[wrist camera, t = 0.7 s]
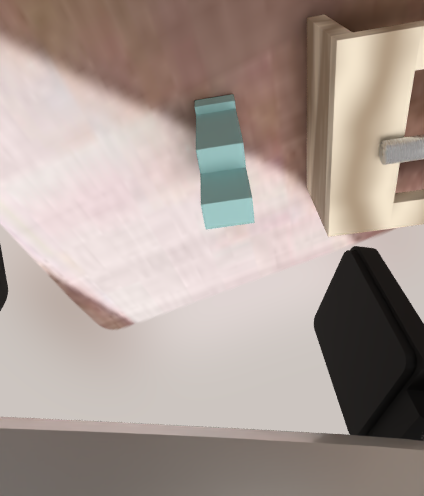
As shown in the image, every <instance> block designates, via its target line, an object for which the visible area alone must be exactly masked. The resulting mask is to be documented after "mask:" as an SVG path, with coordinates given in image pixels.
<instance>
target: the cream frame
mask: <svg viewBox="0 0 424 496" xmlns="http://www.w3.org/2000/svg"><path fill="white" fill-rule="evenodd" d="M421 69H424V20H423V21H418V22H412V23H406V24H400V25H394V26H388V27H382V28H376V29H370V30H364V31H358V32H351V31H349V30H348V29H346V28H345V27H343V26H342V25H340V24H338V23H337V22H335V21H334V20H332V19H331V18H329V17H327V16H326V15H319V16H313V17H307V189H308V191H309V194H310V196H311V198H312V201H313V203H314V205H315V207H316V210H317V212H318V214H319V217H320V219H321V221H322V224H323V226H324V228H325V230H326V233H327V235H328V237H332V236H339V235H346V234H354V233H361V232H369V231H376V230H383V229H391V228H398V227H406V226H413V225H419V224H424V189H423V190H416V191H409V192H402V193H395V190H396V184H397V177H398V171H399V165H400V163H401V162H408V161H415V160H422V159H424V135H417V136H410V137H404V134H405V128H406V122H407V116H408V110H409V104H410V98H411V91H412V85H413V79H414V73H415V70H421Z"/></svg>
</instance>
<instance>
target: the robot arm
mask: <svg viewBox="0 0 424 496" xmlns="http://www.w3.org/2000/svg"><path fill="white" fill-rule="evenodd" d="M7 295H8V285H7V280H6V274H5V269H4V263H3V257H2V251H1V245H0V311H1V309H2V307H3V305H4V303H5V301H6V299H7ZM314 329H315V332H316V335H317V338H318V341H319V344H320V347H321V350H322V353H323V356H324V359H325V362H326V365H327V368H328V371H329V374H330V377H331V380H332V383H333V387H334V390H335V392H336V395H337V399H338V402H339V405H340V408H341V411H342V413H343V417H344V420H345V423H346V425H347V429H348V431H349V433H350V435H344V434H326V433H309V432H291V431H274V430H255V429H239V428H219V427H200V426H181V425H162V424H142V423H122V422H102V421H100V422H99V421H81V420H59V419H37V418H16V417H0V496H424V324H423V322H422V321H421V319H420V317H419V316H418V314H417V313H416V311H415V310H414V308H413V307H412V305H411V303H410V302H409V300H408V298H407V297H406V295H405V294H404V292H403V291H402V289H401V287H400V286H399V284H398V283H397V281H396V279H395V278H394V276H393V275H392V274H391V272H390V270H389V269H388V267H387V265H386V264H385V262H384V261H383V259H382V258H381V256H380V254H379V253H378V251H377V250H376V249H374V248H367V247H358V246H354V247H353V248H351V250H350V251H349V250H348V251H346V252H345V253H344V255H343V256H342V259H341V261H340V263H339V265H338V267H337V270H336V272H335V274H334V276H333V278H332V280H331V283H330V285H329V287H328V289H327V292H326V293H325V296H324V298H323V300H322V302H321V305H320V307H319V309H318V311H317V313H316V315H315V318H314Z"/></svg>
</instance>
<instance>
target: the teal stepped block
mask: <svg viewBox="0 0 424 496" xmlns="http://www.w3.org/2000/svg"><path fill="white" fill-rule="evenodd" d="M195 112H196V153H197V158H198V164H199V169H200V174H201V207H202V213H203V218H204V223H205V228H206V229H213V228H220V227H227V226H234V225H241V224H249V223H255V222H254V212H253V202H252V195H251V190H250V185H249V180H248V176H247V171H246V165H245V155H244V146H243V140H242V135H241V131H240V126H239V122H238V117H237V113H236V108H235V100H234V95H233V94H231V95H225V96H219V97H213V98H207V99H201V100H195Z"/></svg>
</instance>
